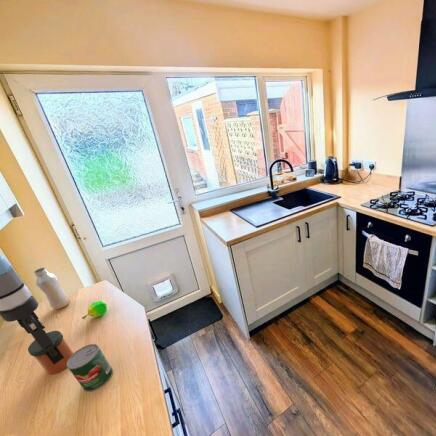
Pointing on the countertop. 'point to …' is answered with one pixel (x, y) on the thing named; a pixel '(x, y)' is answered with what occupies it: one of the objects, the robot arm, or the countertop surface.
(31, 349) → the jar lid
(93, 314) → the apple
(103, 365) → the canned tomato
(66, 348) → the jam jar
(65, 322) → the countertop surface
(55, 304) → the plastic bottle
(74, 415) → the countertop surface
